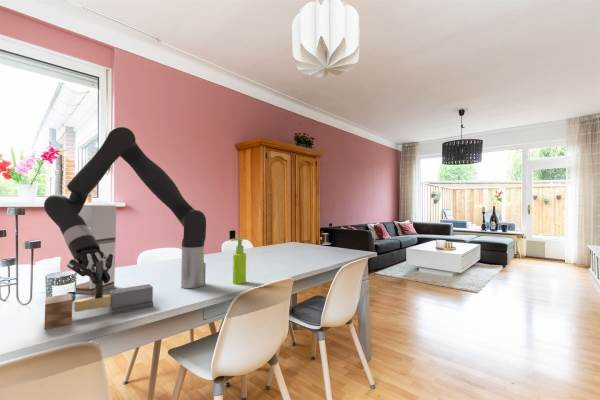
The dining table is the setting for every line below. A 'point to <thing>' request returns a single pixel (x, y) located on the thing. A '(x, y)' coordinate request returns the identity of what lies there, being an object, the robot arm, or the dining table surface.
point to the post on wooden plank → (99, 298)
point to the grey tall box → (100, 239)
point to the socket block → (58, 311)
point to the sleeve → (131, 299)
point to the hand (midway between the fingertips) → (103, 282)
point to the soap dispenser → (239, 263)
